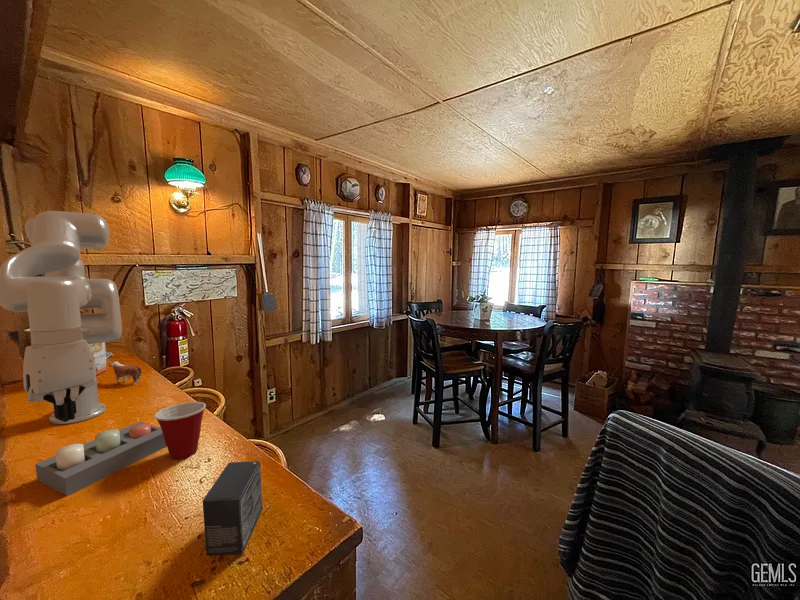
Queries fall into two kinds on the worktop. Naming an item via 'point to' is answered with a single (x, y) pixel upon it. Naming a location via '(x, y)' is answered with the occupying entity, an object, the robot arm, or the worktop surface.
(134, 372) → the bull figurine
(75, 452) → the ivory button
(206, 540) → the small box
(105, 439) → the sage button
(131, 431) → the brick button
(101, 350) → the cracker box
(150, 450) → the panel
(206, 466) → the worktop surface
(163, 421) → the plastic cup
